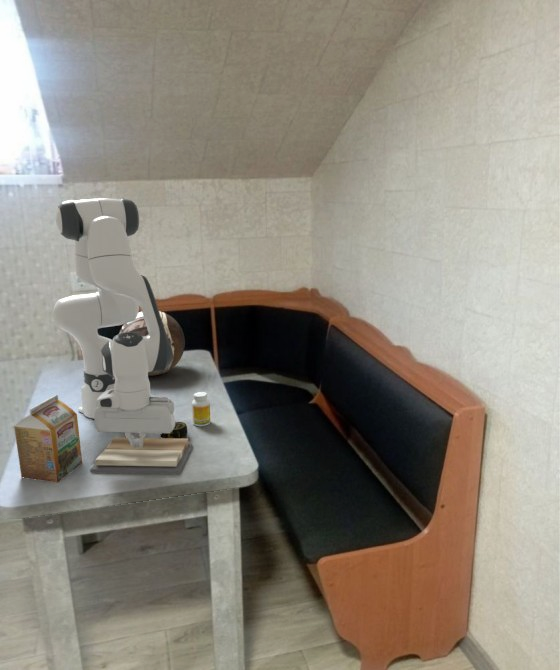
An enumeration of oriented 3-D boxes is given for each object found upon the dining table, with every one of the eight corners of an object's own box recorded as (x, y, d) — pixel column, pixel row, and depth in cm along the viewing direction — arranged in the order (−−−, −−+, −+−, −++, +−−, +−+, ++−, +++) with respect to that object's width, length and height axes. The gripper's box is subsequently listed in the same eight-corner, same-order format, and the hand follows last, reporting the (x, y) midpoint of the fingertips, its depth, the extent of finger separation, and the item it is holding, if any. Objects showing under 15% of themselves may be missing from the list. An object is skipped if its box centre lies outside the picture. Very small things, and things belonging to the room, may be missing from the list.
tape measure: (169, 431, 172) (168, 420, 171) (191, 433, 170) (190, 421, 170) (160, 441, 165) (159, 429, 164) (183, 443, 164) (182, 431, 163)
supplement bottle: (190, 422, 178) (188, 392, 176) (207, 418, 180) (205, 389, 178) (196, 428, 173) (194, 398, 171) (213, 424, 176) (211, 395, 173)
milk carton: (57, 482, 143) (48, 411, 138) (21, 477, 146) (11, 407, 141) (82, 463, 153) (74, 396, 148) (48, 458, 156) (39, 392, 151)
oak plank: (115, 442, 162) (114, 437, 162) (188, 443, 161) (188, 438, 161) (106, 453, 156) (105, 448, 155) (182, 454, 154) (182, 449, 154)
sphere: (189, 381, 215) (185, 315, 209) (119, 387, 210) (113, 320, 203) (184, 361, 239) (180, 302, 232) (121, 367, 233) (116, 306, 227)
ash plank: (105, 454, 155) (105, 449, 155) (182, 455, 154) (182, 450, 153) (95, 465, 148) (95, 459, 148) (176, 466, 147) (175, 461, 147)
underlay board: (112, 445, 163) (111, 442, 163) (192, 446, 161) (192, 443, 161) (90, 472, 148) (90, 469, 147) (179, 474, 146) (179, 470, 146)
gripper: (176, 393, 148) (179, 441, 152) (98, 391, 150) (103, 440, 153) (170, 402, 142) (173, 453, 146) (89, 400, 144) (94, 451, 147)
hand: (137, 446), depth 150 cm, fingers closed
